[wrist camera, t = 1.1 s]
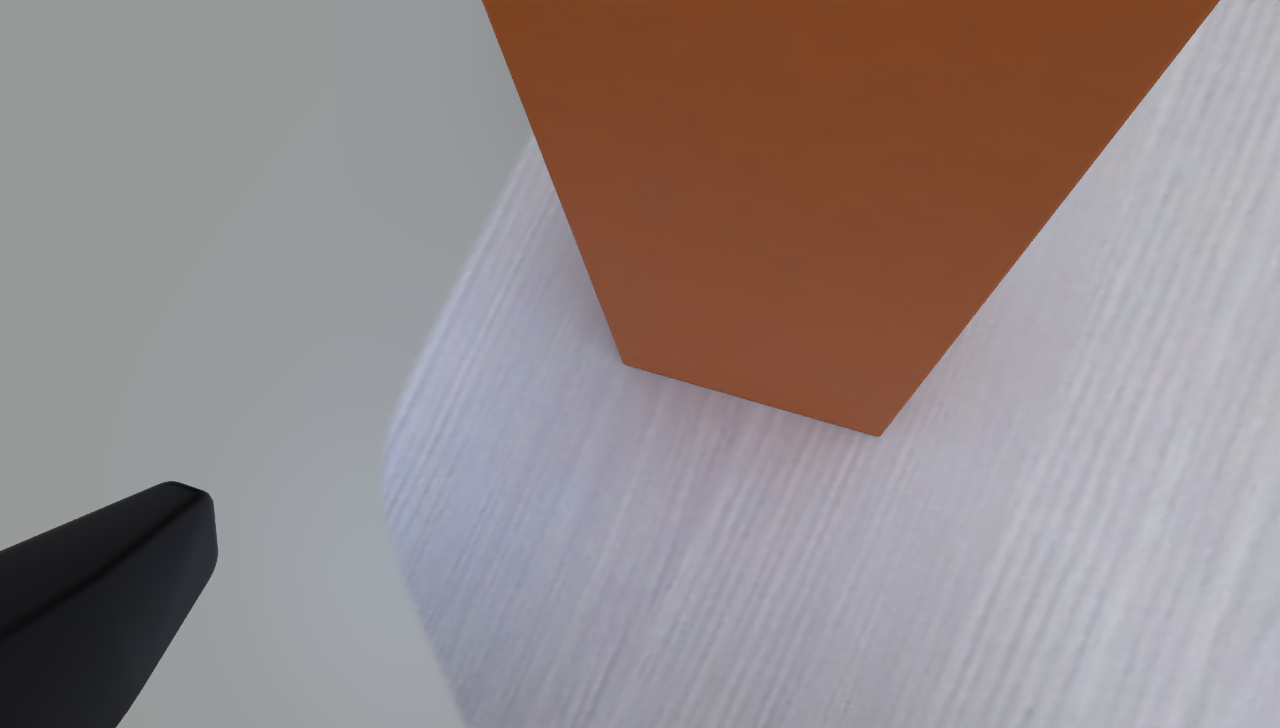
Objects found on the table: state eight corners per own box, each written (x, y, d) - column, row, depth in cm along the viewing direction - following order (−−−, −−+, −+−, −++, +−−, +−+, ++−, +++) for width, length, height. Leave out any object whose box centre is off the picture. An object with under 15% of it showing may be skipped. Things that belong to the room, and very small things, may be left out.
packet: (880, 437, 24) (1262, -48, 7) (622, 364, 25) (387, -233, 8) (935, 232, 25) (1387, -642, 8) (685, 167, 26) (601, -747, 9)
